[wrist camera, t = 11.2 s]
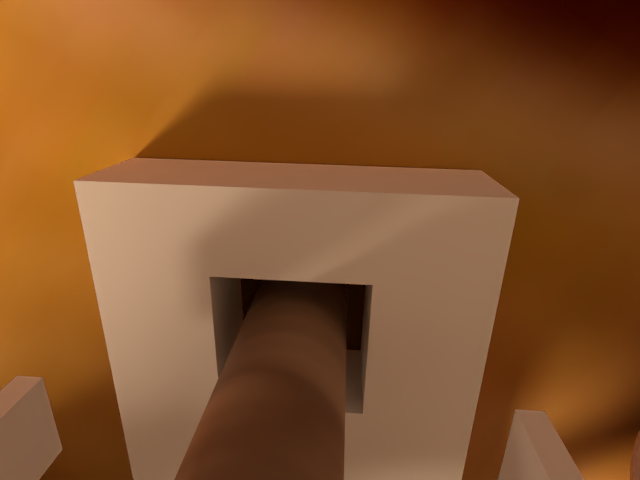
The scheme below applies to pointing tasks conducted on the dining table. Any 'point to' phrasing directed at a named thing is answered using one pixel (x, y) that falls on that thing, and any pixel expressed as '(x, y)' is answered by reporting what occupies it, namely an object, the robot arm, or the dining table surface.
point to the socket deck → (308, 266)
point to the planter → (635, 460)
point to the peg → (279, 391)
